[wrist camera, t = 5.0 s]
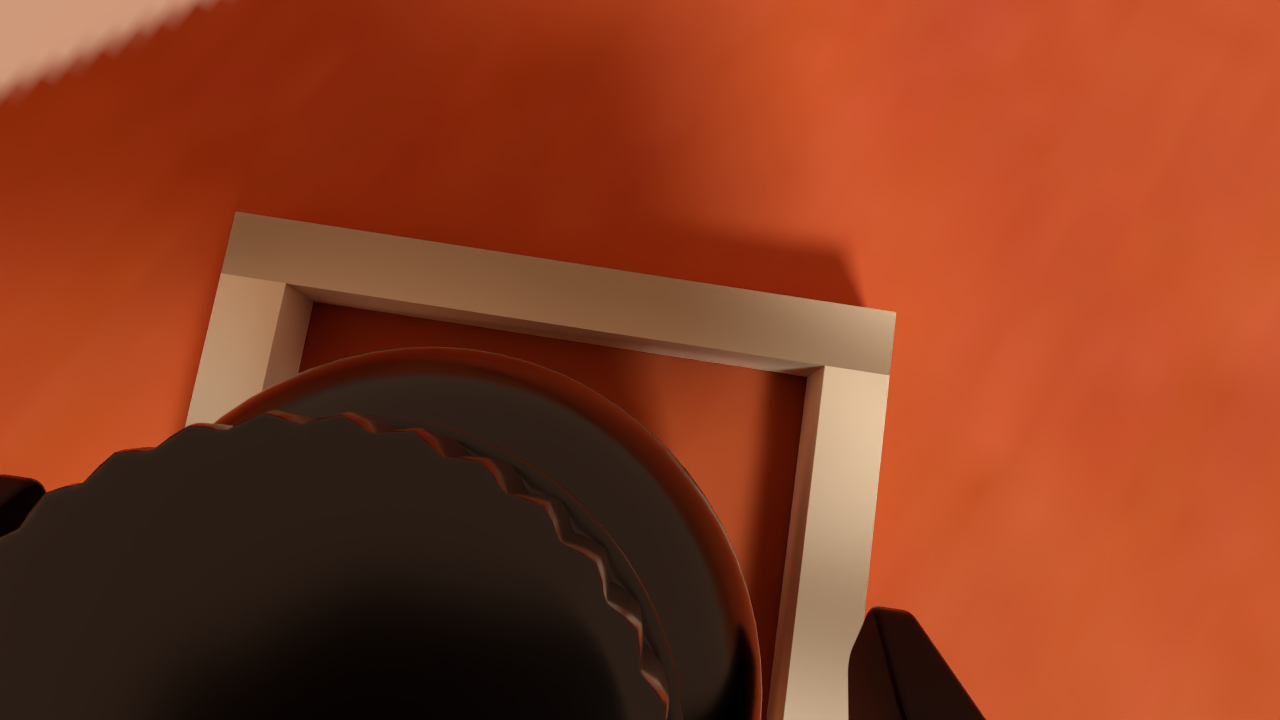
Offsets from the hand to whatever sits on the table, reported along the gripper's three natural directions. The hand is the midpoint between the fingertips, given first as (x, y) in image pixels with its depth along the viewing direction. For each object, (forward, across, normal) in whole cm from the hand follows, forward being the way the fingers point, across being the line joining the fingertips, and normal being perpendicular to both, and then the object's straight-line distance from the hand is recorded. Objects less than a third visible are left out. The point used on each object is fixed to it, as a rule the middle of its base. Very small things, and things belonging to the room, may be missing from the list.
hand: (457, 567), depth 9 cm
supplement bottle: (+5, 0, +6) cm, 8 cm away
